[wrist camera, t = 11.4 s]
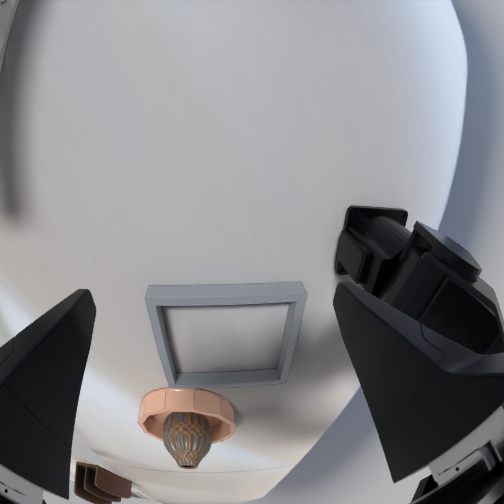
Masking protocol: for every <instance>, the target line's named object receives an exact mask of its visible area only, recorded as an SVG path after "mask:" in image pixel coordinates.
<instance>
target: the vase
mask: <svg viewBox="0 0 504 504" xmlns="http://www.w3.org/2000/svg"><path fill="white" fill-rule="evenodd" d="M162 438H163V442H164V445H165V447H166V449H167V450H168V452H169V453H170V454H171V455H172V457H173V458H174V459H175V460H176V462H177V464H178V466H179V467H180V468H184V469H195V468H197V467H198V464H199V463H200V461H201V460H202V459H203V458H204V457H205V455H206V454H207V453H208V452H209V450H210V447H211V444H212V429H211V426H210V423H209V421H208V420H207V418H206V417H205V416H204V415H203V414H199V413H195V412H171V413H170V414H169V415H168V416H167V417H166V419H165V421H164V424H163V428H162Z"/></svg>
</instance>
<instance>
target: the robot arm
mask: <svg viewBox="0 0 504 504" xmlns="http://www.w3.org/2000/svg"><path fill="white" fill-rule="evenodd" d="M353 210H355V212H354V213H353V214H352V211H353ZM403 213H404V214H403ZM402 214H403V216H402ZM407 217H408V212H407V211H406V210H404V209H396V208H383V207H369V206H350V207H349V208H348V209H347V213H346V218H345V223H344V228H343V230H342V232H341V236H340V241H339V246H338V250H337V255H336V257H337V261H336V265H335V271H336V273H337V274H338V275H345V274H349V275H350V276H351V277H352V279H353V280H354V282H355V283H356V284H360V285H361V286H362V288H363V289H364V290H363V289H361V288H359V287H358V286H356V285H354V284H352V283H351V282H339V283H338V285H337V288H336V291H335V295H334V299H333V306H334V310H335V313H336V317H337V320H338V324H339V327H340V331H341V335H342V338H343V341H344V343H345V346H346V348H347V351H348V353H349V356H350V359H351V361H352V364H353V366H354V369H355V371H356V374H357V377H358V379H359V382H360V385H361V387H362V390H363V393H364V395H365V398H366V401H367V404H368V406H369V409H370V412H371V415H372V417H373V421H374V423H375V426H376V429H377V432H378V435H379V439H380V441H381V445H382V448H383V451H384V454H385V457H386V460H387V463H388V467H389V470H390V473H391V476H392V480H393V482H394V483H396V482H398V481H400V480H403V479H405V478H407V477H409V476H411V475H413V474H415V473H416V472H418V471H420V470H422V469H424V468H426V467H427V466H429V469H430V471H431V473H432V474H431V475H429V476H428V477H426V478H424V479H422V480H421V481H420V483H419V485H418V488H417V490H416V492H415V494H414V497H413V499H412V501H411V503H409V504H504V321H503V317H502V313H501V310H500V307H499V303H498V300H497V297H496V294H495V292H494V290H493V289H492V288H491V287H490V286H489V285H488V284H487V283H485V282H484V281H483V280H482V279H481V278H480V277H479V275H480V273H481V271H482V269H481V267H480V266H479V264H478V263H477V262H476V261H475V259H474V258H473V257H472V255H471V254H470V253H469V252H468V251H467V250H466V249H464V248H463V247H462V246H461V245H459V244H458V243H456V242H455V241H454V240H452V239H451V238H449V237H447V236H446V235H444V234H442V233H440V232H438V231H436V230H434V229H432V228H430V227H428V226H426V225H424V224H422V223H420V222H418V221H416V223H415V225H414V227H413V228H414V230H413V232H410V231H409V230H408V229H406V228H405V225H406V221H407ZM340 268H342V269H341V270H339V269H340ZM95 317H96V306H95V303H94V300H93V297H92V295H91V292H90V290H88V289H78V290H77V291H75V292H74V293H73V294H71V295H70V296H68V297H67V298H65V299H64V300H63V301H61V302H60V303H58V304H57V305H56V306H54V307H53V308H51V309H50V310H49V311H47V312H46V313H45V314H43V315H42V316H41V317H39V318H38V319H37V320H35V321H34V322H33V323H31V324H30V325H29V326H27V327H26V328H25V329H23V330H22V331H21V332H20V333H18V334H17V335H16V336H15V337H13V338H12V339H11V340H9V341H8V342H7V343H6V344H4V345H3V346H2V347H0V504H46V502H45V501H44V500H43V499H42V498H43V490H44V491H47V492H49V493H51V494H54V495H56V496H59V497H62V498H64V499H67V500H68V499H69V478H70V462H71V448H72V440H73V432H74V424H75V418H76V411H77V406H78V400H79V395H80V390H81V385H82V380H83V375H84V371H85V367H86V363H87V359H88V355H89V350H90V346H91V340H92V334H93V328H94V322H95Z"/></svg>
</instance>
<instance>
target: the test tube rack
mask: <svg viewBox="0 0 504 504" xmlns="http://www.w3.org/2000/svg"><path fill="white" fill-rule="evenodd" d="M19 2H20V0H0V75H1V69H2V63H3V58H4V53H5V49H6V45H7V41H8V37H9V33H10V29H11V26H12V23H13V19H14V16H15V13H16V10H17V7H18V5H19Z"/></svg>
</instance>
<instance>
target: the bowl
mask: <svg viewBox="0 0 504 504" xmlns="http://www.w3.org/2000/svg"><path fill="white" fill-rule="evenodd" d="M171 412H195V413H199V414H203V415H204V416H205V417H206V418H207V420H208V421H209V423H210V426H211V429H212V444H213V443H217V442H222V441H224V440H226V439H228V438H229V437H231V436H232V435H234V434H235V418H234V410H233V407H232V405H231V403H230V402H229V401H228V400H227V399H225V398H224V397H222V396H220V395H218V394H216V393H213V392H210V391H206V390H202V389H183V388H162V389H158V390H154V391H151V392H150V393H148V394H146V395H145V396H144V397H143V399H142V402H141V404H140V406H139V413H138V422H137V423H138V424H139V426H140V427H141V428H142V430H143V431H144V432H145V433H147V434H149V435H151V436H153V437H155V438H157V439H159V440H161V441H163V438H162V428H163V424H164V421H165V419H166V417H167V416H168V415H169V414H170V413H171Z"/></svg>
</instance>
